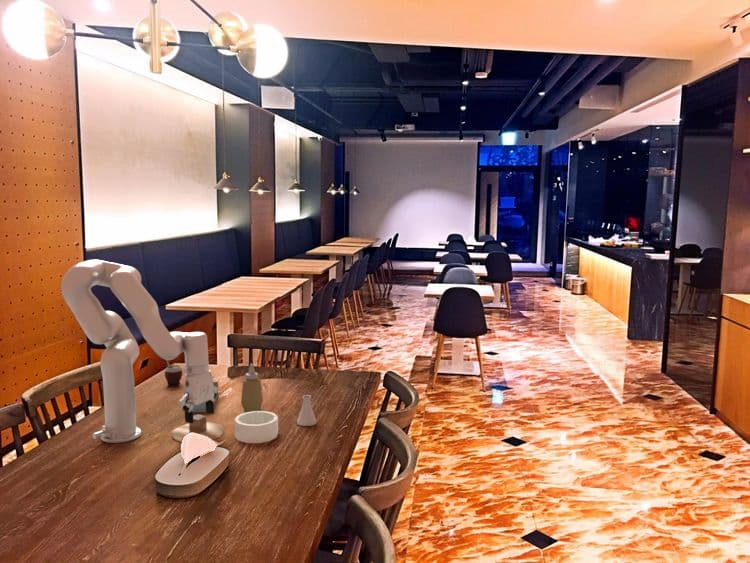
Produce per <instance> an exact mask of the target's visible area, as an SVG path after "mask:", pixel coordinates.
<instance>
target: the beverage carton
mask: <svg viewBox="0 0 750 563" xmlns="http://www.w3.org/2000/svg"><path fill="white" fill-rule="evenodd" d="M213 384H214V386H215V387H218V388H219V382H218V381H213ZM216 394H217V396H216V397H215V402H213V403H214V406H215V405H216V403H217V400H218V397H219V389H218V390H217V393H216ZM192 411H193V413H206V402H204V403H201V404H199V405H194V406H193V408H192Z"/></svg>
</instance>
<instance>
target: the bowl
mask: <svg viewBox="0 0 750 563" xmlns="http://www.w3.org/2000/svg"><path fill="white" fill-rule="evenodd" d="M278 435H279V416H278V415H277V414H276V413H275V412H271V411H268V410H260V411H251V412H242V413H241V414H239V415H236V416H235V418H234V438H235V439H236V441H238V442H242V443H245V444H261V443H268V442H271V441H272V440H275V439H276V438H278Z"/></svg>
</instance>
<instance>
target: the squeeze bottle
mask: <svg viewBox="0 0 750 563" xmlns="http://www.w3.org/2000/svg"><path fill="white" fill-rule="evenodd" d="M244 375H245V378H244V379H242V386H241V387H242V389H241V398H240V403H241V405H242V408H243V411H244V413H246V412H251V411H261V408H262V406H263V405H262V404H263V402H264V400H263V399H264V398H263V391H262V388H263V387H262V380H261V379H260V378H259V373H258V372H257V371H256V370H255V365H254V364H253V363H250V364H249V368H248V372H246V373H245V374H244Z"/></svg>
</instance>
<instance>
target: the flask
mask: <svg viewBox="0 0 750 563" xmlns="http://www.w3.org/2000/svg"><path fill="white" fill-rule="evenodd" d="M311 399H312V395H309V394H304V395H302V405H301V406H302V407H301V409H300V412H299V414H298V418H297V421H296V425H298V426H300V427H312V426H314V425H316V424H317V419H316V417H315V414H314V411H313V408H312V404H311Z"/></svg>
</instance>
